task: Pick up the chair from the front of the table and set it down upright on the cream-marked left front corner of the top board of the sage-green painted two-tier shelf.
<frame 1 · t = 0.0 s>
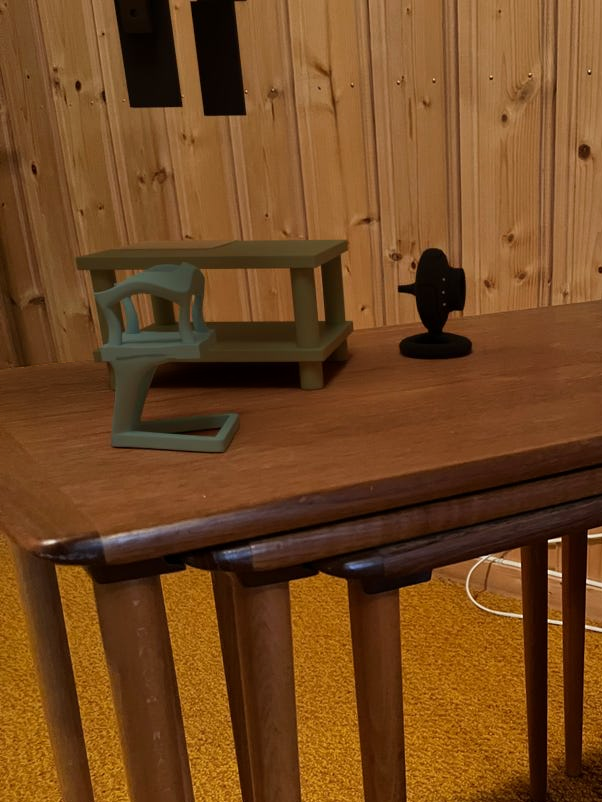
hand: (194, 112, 60), 21 cm above the table, tool pointing down, fingers open, 13 cm apart
webcam: (436, 354, 100), on the table
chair: (175, 442, 70), on the table
shelf: (236, 372, 92), on the table
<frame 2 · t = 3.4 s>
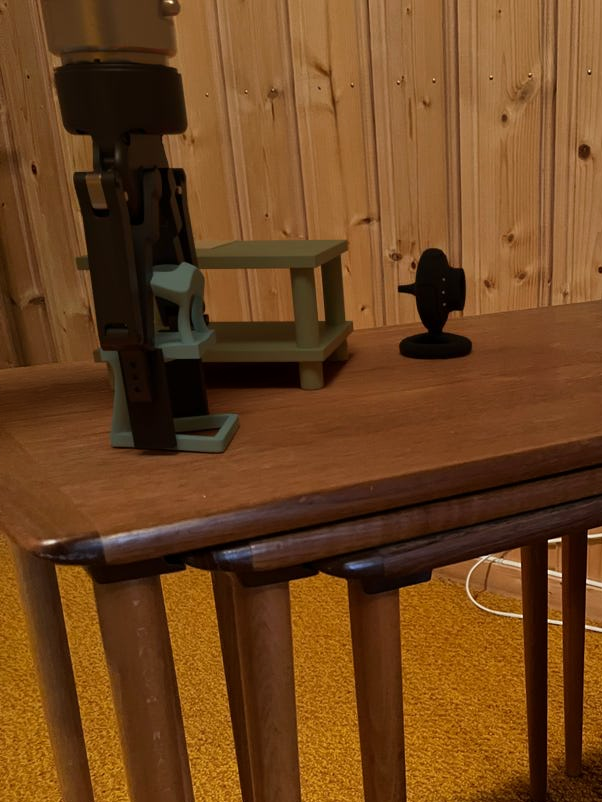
hand: (174, 431, 70), 1 cm above the table, tool pointing down, fingers closed on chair, 7 cm apart
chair: (175, 442, 70), on the table, touching gripper
everything else where it was.
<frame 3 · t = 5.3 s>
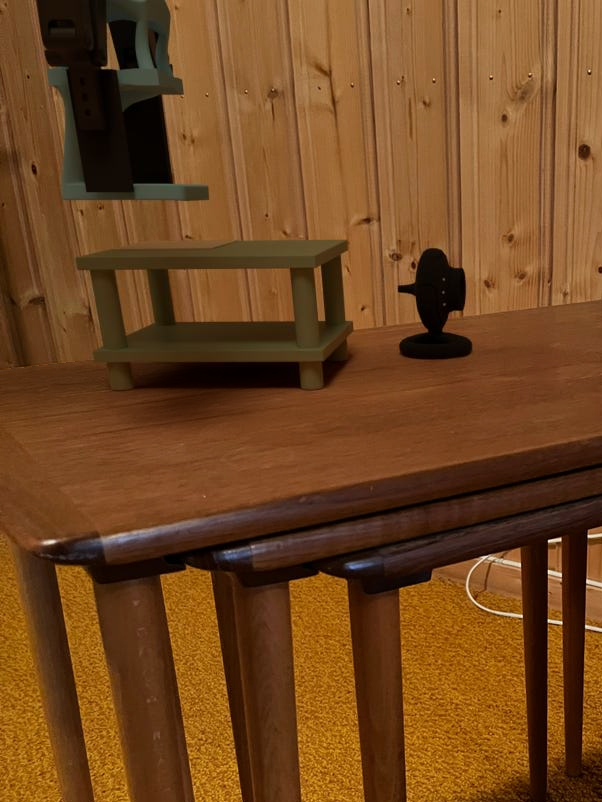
hand: (132, 189, 63), 16 cm above the table, tool pointing down, fingers closed on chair, 7 cm apart
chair: (135, 204, 63), point 16 cm above the table, touching gripper
everything else where it was.
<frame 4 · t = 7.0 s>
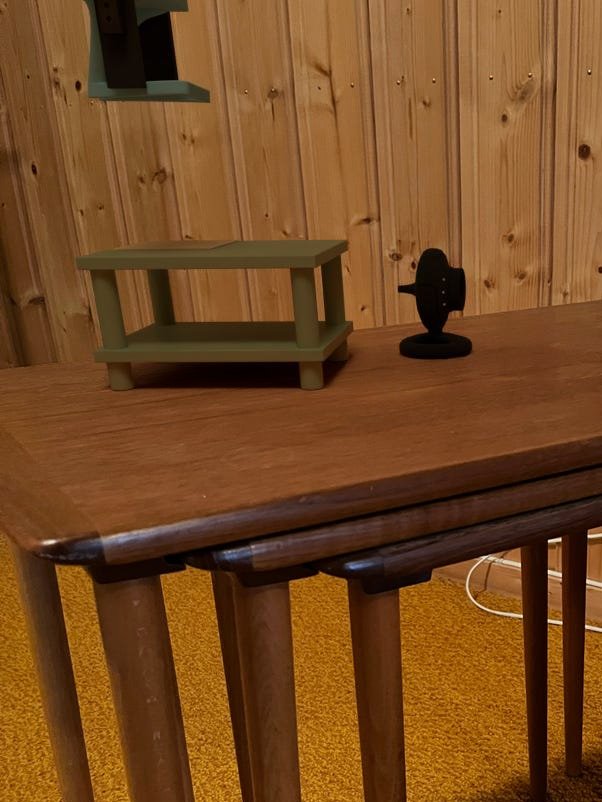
hand: (145, 90, 76), 23 cm above the table, tool pointing down, fingers closed on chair, 7 cm apart
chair: (148, 102, 76), point 22 cm above the table, touching gripper
everything else where it was.
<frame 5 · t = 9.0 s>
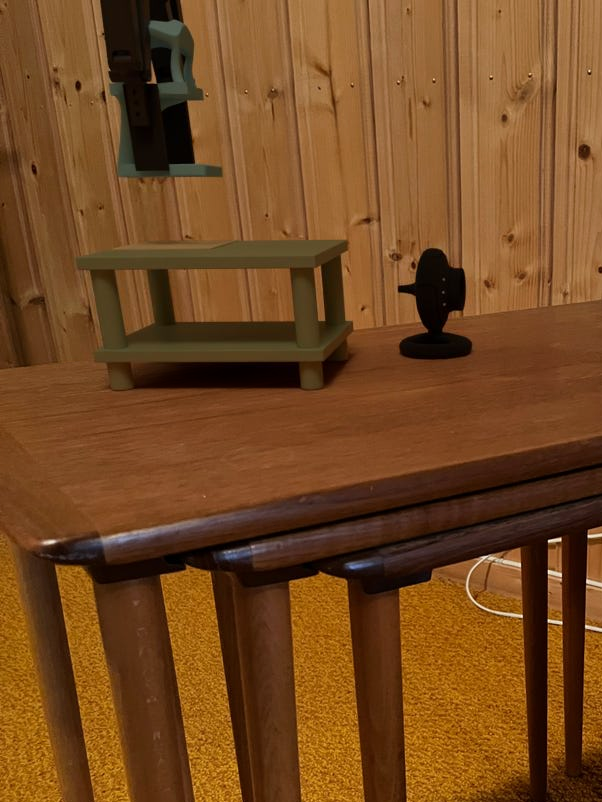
hand: (167, 169, 87), 17 cm above the table, tool pointing down, fingers closed on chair, 7 cm apart
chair: (169, 180, 87), point 16 cm above the table, touching gripper
everything else where it was.
when the fingers open (12 cm above the table, at t = 10.7 s): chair stays where it is, resting on shelf.
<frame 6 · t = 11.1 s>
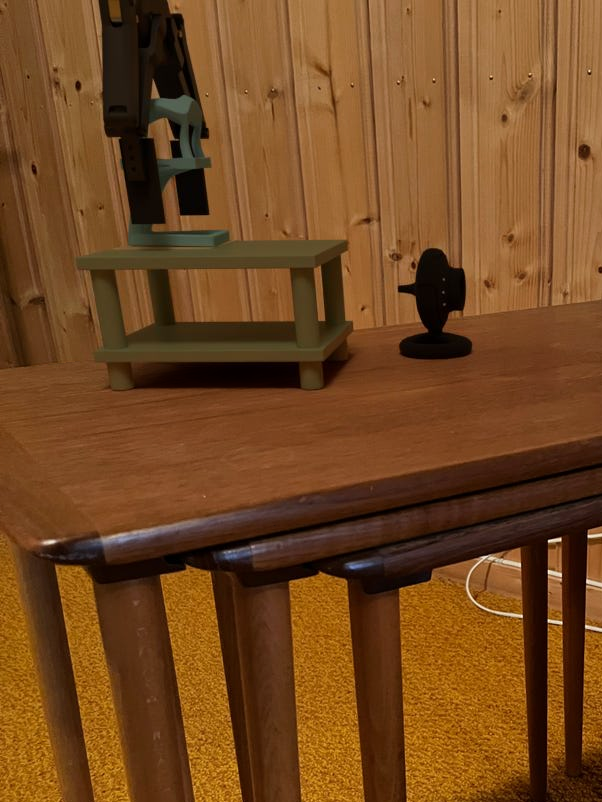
hand: (173, 219, 89), 13 cm above the table, tool pointing down, fingers open, 12 cm apart
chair: (178, 246, 90), point 11 cm above the table, touching shelf
everything else where it was.
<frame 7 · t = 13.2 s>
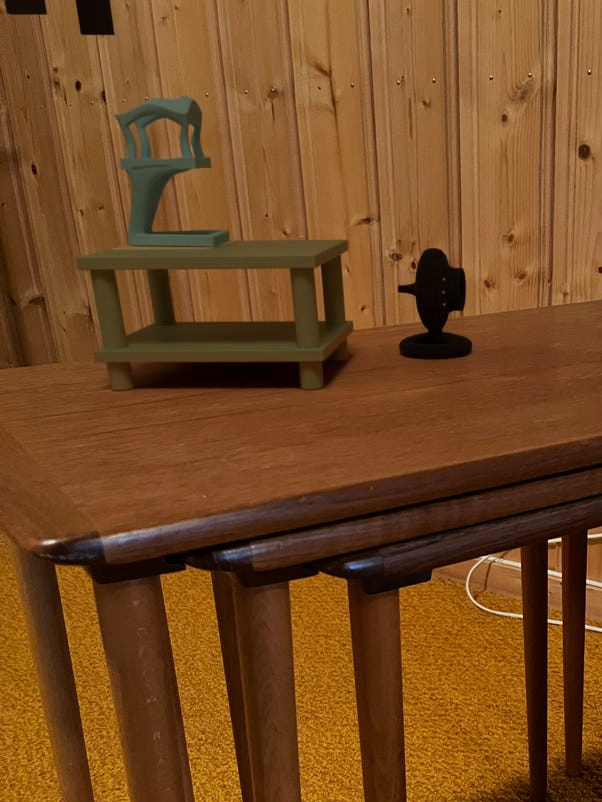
hand: (65, 25, 78), 28 cm above the table, tool pointing down, fingers open, 13 cm apart
nothing on the table moved.
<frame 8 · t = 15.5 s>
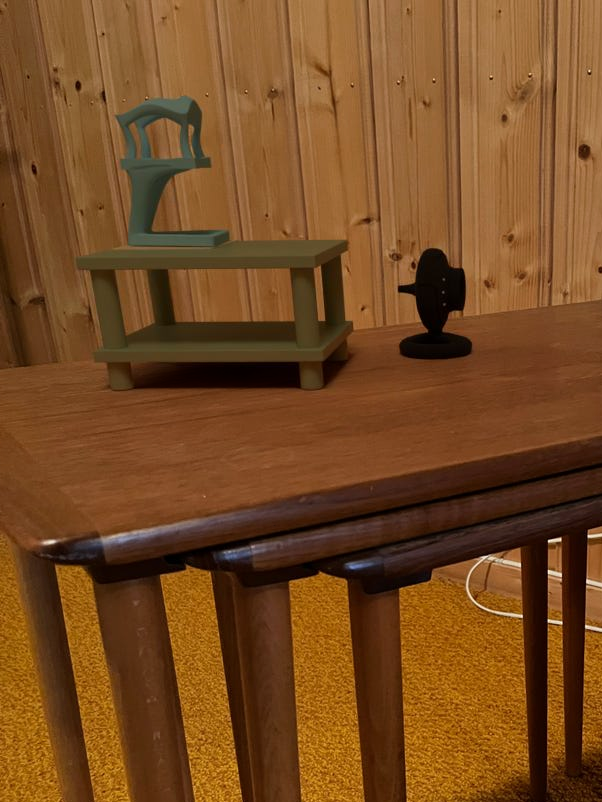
nothing on the table moved.
at the end: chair inside the target area on the shelf (0.9 cm from its centre), point 10.9 cm above the shelf's base; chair tilted 0°; the gripper is holding nothing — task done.
